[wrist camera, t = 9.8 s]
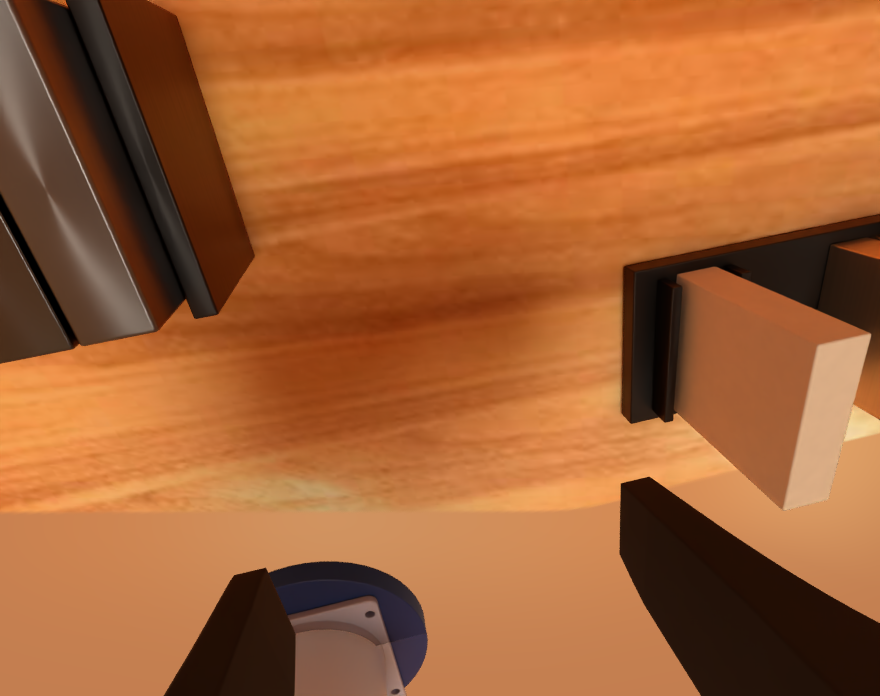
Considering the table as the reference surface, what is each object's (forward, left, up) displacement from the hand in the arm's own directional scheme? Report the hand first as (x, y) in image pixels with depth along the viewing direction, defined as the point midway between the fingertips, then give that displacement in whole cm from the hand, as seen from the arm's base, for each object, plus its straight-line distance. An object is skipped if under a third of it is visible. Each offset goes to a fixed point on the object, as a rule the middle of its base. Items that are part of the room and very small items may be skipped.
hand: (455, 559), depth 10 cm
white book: (-2, -11, -10) cm, 15 cm away
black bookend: (+8, +10, -10) cm, 17 cm away
